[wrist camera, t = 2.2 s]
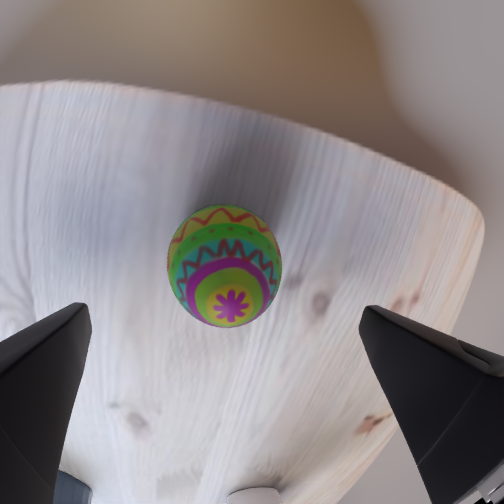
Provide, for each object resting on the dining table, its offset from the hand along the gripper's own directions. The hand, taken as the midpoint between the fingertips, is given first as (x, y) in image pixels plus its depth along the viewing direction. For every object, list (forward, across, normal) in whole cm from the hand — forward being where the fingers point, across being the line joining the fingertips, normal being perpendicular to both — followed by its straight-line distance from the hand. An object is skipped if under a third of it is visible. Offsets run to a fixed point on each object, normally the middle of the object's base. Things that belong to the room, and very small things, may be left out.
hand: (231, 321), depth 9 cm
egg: (+7, 0, 0) cm, 7 cm away
